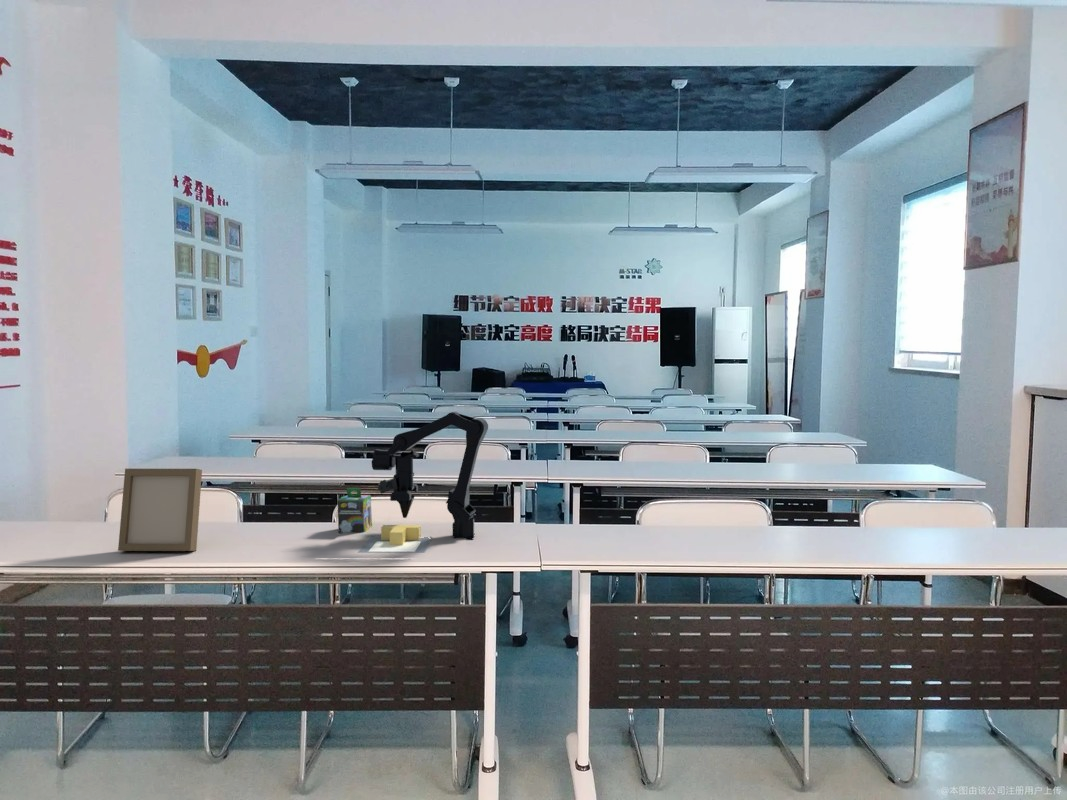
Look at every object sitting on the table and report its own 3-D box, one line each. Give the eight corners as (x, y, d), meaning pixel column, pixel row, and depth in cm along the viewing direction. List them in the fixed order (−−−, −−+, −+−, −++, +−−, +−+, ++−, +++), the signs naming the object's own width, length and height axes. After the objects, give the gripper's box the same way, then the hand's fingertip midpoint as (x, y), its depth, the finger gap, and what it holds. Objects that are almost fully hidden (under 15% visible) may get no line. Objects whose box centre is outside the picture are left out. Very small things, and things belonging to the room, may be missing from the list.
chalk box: (372, 528, 280) (371, 485, 279) (364, 533, 271) (363, 489, 270) (346, 527, 281) (345, 484, 280) (337, 533, 271) (336, 489, 271)
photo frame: (190, 554, 244) (188, 471, 242) (118, 554, 244) (115, 471, 242) (210, 542, 258) (208, 464, 257) (142, 542, 259) (139, 464, 257)
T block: (420, 537, 263) (420, 524, 263) (415, 545, 252) (415, 532, 252) (383, 537, 263) (383, 524, 263) (376, 545, 252) (376, 532, 252)
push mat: (433, 537, 264) (433, 536, 264) (424, 554, 243) (424, 552, 243) (372, 537, 265) (372, 536, 265) (357, 553, 244) (357, 552, 244)
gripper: (385, 466, 277) (385, 512, 277) (374, 475, 258) (374, 523, 259) (417, 466, 276) (418, 512, 277) (409, 475, 258) (409, 523, 259)
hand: (404, 517), depth 268 cm, fingers closed
